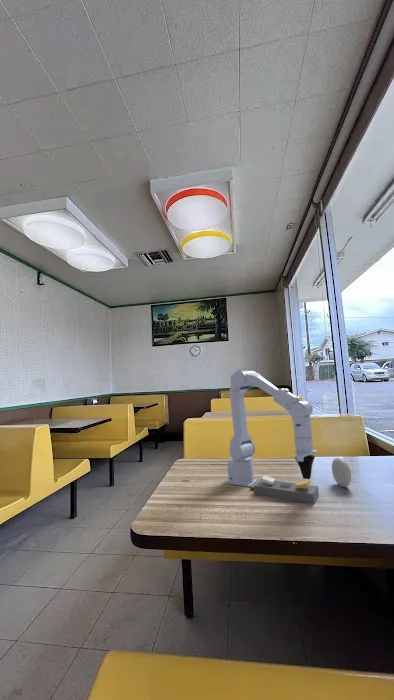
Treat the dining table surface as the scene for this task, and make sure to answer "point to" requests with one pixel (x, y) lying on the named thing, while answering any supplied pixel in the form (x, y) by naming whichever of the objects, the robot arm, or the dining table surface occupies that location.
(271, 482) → the white plug
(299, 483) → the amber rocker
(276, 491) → the power strip
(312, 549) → the dining table surface
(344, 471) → the grey round disc
